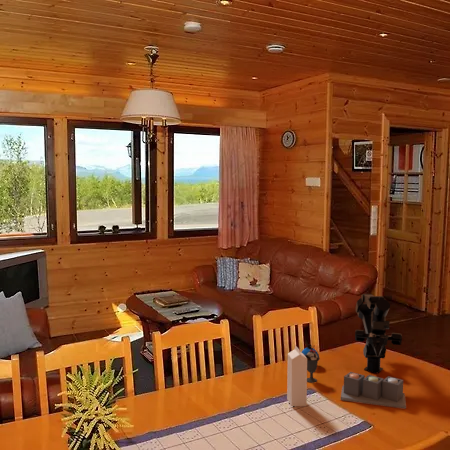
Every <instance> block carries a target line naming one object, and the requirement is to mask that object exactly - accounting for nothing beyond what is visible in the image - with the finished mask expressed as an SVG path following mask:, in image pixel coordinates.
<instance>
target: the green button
mask: <svg viewBox="0 0 450 450" xmlns="http://www.w3.org/2000/svg"><path fill="white" fill-rule="evenodd" d="M372 376H373V375H372ZM372 376H371V377H369V378H368V380H369V381H373V382H378V378H377V377H378V376H376V377H372Z"/></svg>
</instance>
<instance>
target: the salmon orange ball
mask: <svg viewBox="0 0 450 450" xmlns="http://www.w3.org/2000/svg"><path fill="white" fill-rule="evenodd" d="M355 373H356V372H353V373H352V374H350V377H351V378H355V379H358V378H359V375H358V374H359V373H357V374H355Z"/></svg>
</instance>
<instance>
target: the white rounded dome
mask: <svg viewBox="0 0 450 450" xmlns="http://www.w3.org/2000/svg"><path fill="white" fill-rule="evenodd" d="M395 378H396V377H393V378H388V382H391V383H395V384H397V383H398V380H397V379H398V378H397V379H395Z"/></svg>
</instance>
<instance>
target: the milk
mask: <svg viewBox="0 0 450 450" xmlns="http://www.w3.org/2000/svg"><path fill="white" fill-rule="evenodd" d="M286 373H287V377H286V378H287V381H286V382H287V383H286V384H287V385H286V389H287V391H286V401H287V400H288V401H289V402H288V401H287V402H288V404H289V403H290V404H289V405H290V407H291V406H300V407H307V404H308V403H307V400H308V399H307V398H308V396H307V395H308V393H307V392H308V388H307V387H308V386H307V385H308V382H307V378H308V377H307V376H308V370H307V358H306V356H305V355H304V354H303V353H302V351H301V350H300V349H299V347H298V346H296V345H295V346H294V349H293V350H291V351H289V352H288V353H287V371H286Z"/></svg>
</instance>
